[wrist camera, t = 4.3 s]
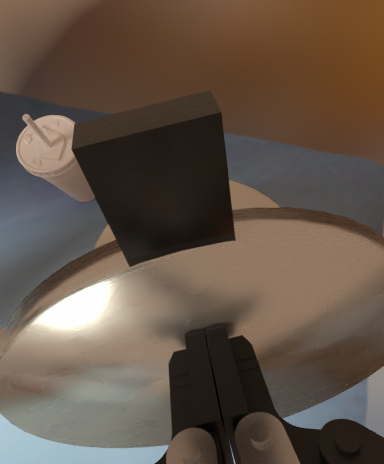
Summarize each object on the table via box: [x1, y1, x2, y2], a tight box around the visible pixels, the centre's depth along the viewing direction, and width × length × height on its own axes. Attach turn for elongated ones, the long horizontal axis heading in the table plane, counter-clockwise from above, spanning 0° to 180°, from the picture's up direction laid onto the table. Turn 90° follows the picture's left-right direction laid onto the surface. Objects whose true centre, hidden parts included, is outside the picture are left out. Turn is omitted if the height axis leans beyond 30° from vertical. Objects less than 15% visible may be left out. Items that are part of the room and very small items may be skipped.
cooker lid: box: [0, 91, 384, 448], centre depth 15 cm, size 22×19×2 cm
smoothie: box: [16, 114, 95, 202], centre depth 35 cm, size 6×6×14 cm
